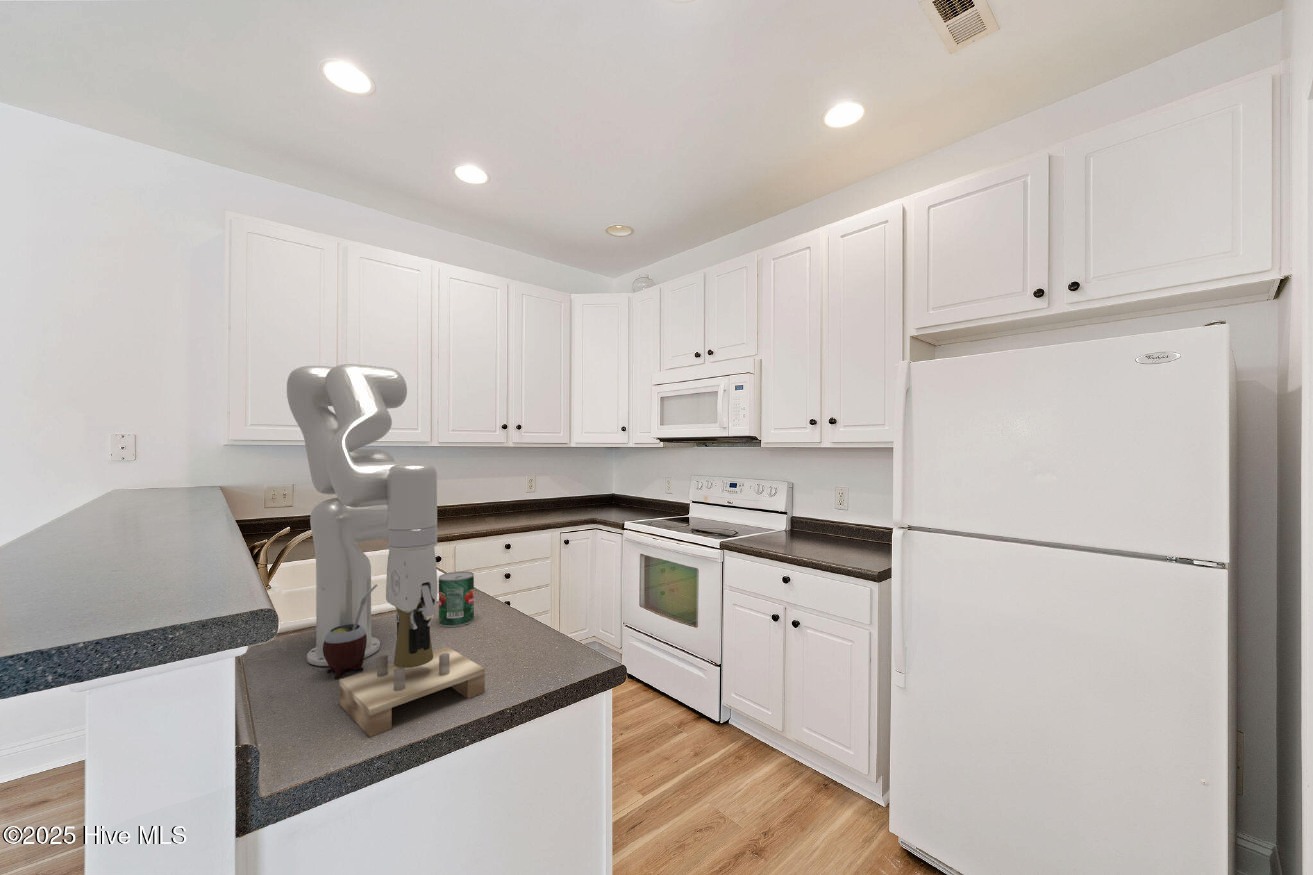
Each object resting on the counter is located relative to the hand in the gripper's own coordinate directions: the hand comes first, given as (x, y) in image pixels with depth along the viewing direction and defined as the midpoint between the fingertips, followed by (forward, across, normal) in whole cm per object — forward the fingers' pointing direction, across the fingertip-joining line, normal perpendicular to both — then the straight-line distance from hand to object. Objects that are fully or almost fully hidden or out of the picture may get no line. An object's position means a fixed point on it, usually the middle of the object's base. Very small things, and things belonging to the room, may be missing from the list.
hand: (413, 646), depth 86 cm
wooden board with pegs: (+9, 0, 0) cm, 9 cm away
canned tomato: (+9, -30, +22) cm, 38 cm away
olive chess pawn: (+2, 0, 0) cm, 2 cm away
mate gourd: (+9, -20, -4) cm, 22 cm away
